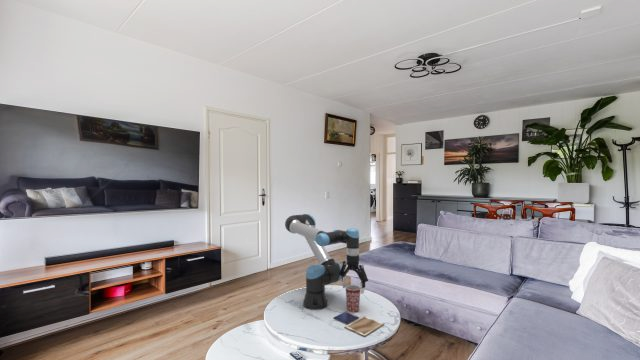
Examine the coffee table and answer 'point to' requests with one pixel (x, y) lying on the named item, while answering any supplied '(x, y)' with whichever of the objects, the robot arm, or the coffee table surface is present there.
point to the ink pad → (345, 318)
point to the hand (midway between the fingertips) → (353, 290)
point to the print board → (364, 326)
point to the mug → (352, 297)
